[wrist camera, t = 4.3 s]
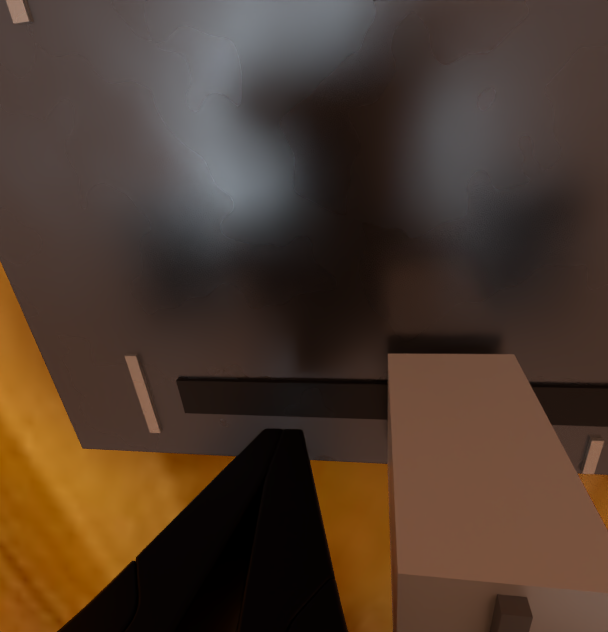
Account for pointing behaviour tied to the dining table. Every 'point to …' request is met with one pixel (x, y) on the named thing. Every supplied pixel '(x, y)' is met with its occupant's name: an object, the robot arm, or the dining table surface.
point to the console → (304, 210)
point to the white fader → (486, 505)
